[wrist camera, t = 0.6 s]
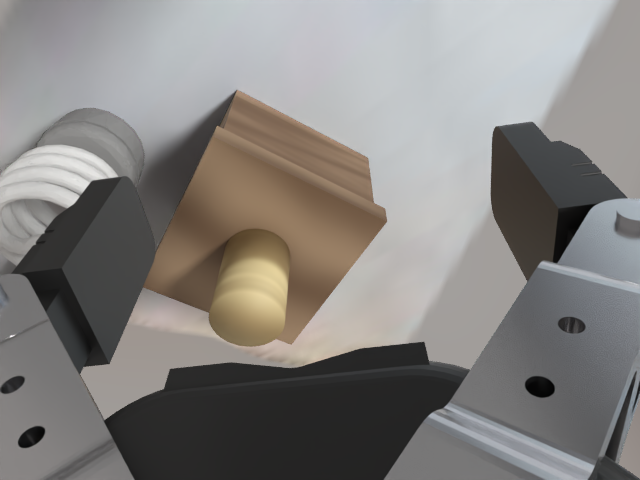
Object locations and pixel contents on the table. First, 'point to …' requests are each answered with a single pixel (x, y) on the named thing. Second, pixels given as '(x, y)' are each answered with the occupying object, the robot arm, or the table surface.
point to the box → (298, 144)
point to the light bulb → (63, 173)
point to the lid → (259, 242)
